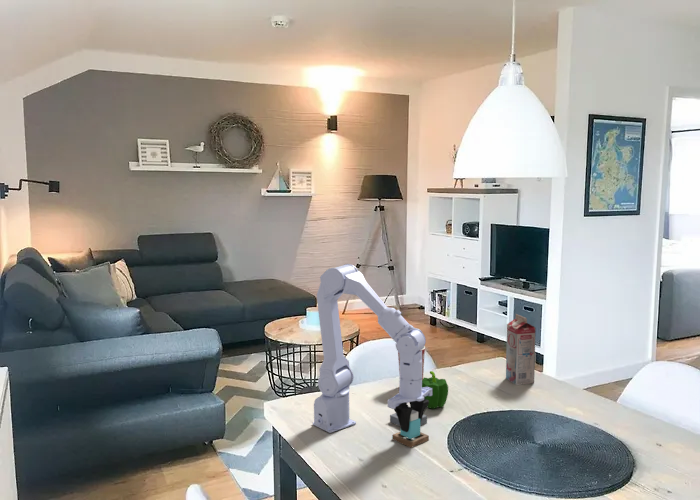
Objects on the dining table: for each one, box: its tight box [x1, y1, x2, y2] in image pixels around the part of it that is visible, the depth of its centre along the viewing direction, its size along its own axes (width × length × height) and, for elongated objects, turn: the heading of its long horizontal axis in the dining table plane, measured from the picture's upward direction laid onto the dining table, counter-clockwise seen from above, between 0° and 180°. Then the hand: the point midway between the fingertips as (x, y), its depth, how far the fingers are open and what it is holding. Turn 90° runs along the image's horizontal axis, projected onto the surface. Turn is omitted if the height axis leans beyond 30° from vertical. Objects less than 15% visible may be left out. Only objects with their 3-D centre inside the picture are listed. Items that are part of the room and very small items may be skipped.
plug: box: [399, 410, 421, 440], centre depth 152 cm, size 4×4×6 cm
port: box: [389, 412, 428, 427], centre depth 163 cm, size 7×7×2 cm
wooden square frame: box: [391, 431, 430, 448], centre depth 152 cm, size 7×7×1 cm
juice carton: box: [505, 313, 536, 386], centre depth 195 cm, size 7×7×22 cm
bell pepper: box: [422, 370, 449, 409], centre depth 175 cm, size 8×8×10 cm
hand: (410, 428), depth 152 cm, fingers closed on plug, 4 cm apart
